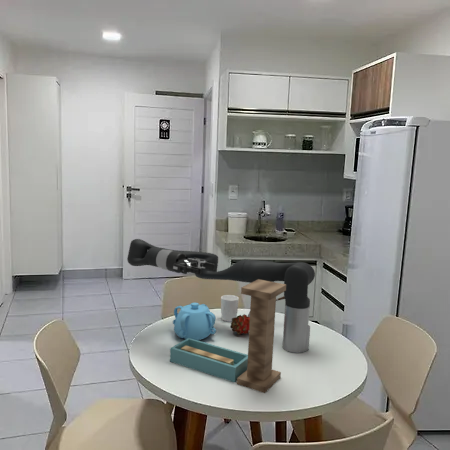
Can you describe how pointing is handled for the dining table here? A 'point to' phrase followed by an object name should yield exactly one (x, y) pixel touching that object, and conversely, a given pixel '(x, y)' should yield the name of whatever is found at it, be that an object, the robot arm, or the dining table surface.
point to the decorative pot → (194, 321)
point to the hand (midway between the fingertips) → (207, 269)
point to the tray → (209, 364)
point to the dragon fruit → (240, 324)
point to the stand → (261, 335)
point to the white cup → (229, 307)
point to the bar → (208, 355)
